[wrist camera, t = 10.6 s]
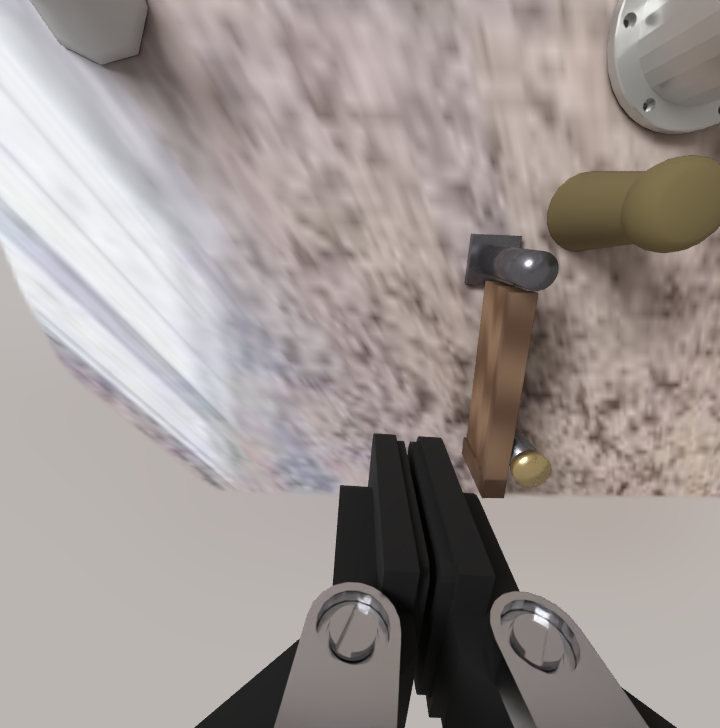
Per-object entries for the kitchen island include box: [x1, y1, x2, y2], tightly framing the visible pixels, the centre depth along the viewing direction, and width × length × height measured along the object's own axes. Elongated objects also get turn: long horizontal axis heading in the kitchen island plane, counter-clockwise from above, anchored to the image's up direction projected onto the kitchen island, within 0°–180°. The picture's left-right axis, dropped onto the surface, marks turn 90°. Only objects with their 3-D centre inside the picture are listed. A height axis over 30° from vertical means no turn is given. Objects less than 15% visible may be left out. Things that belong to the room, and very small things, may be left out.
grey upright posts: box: [465, 234, 558, 487], centre depth 30 cm, size 7×19×9 cm, turn 178°
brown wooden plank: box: [462, 281, 538, 498], centre depth 31 cm, size 17×2×6 cm, turn 179°
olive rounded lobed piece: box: [547, 155, 720, 253], centre depth 25 cm, size 6×6×11 cm
